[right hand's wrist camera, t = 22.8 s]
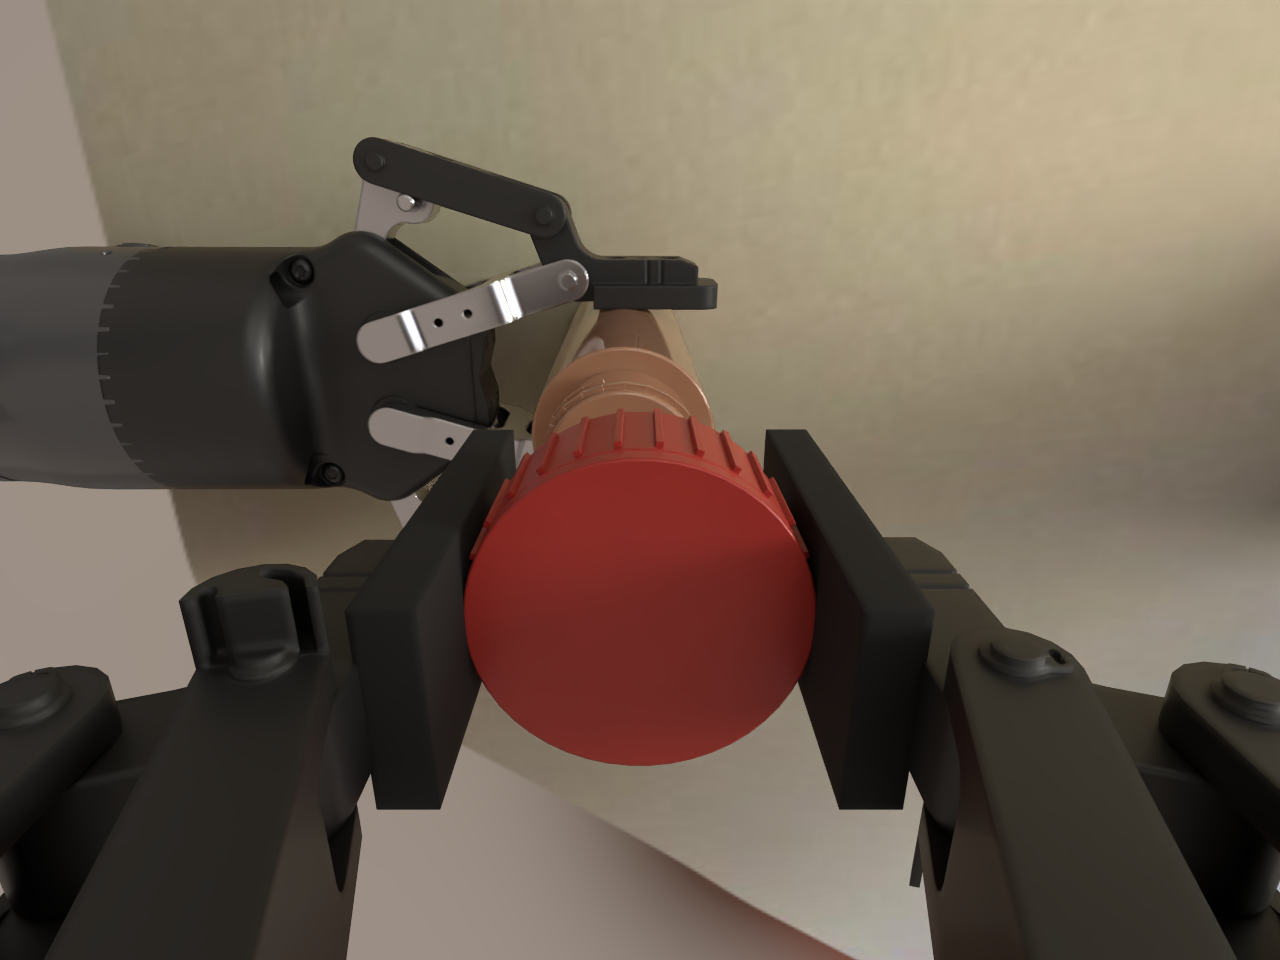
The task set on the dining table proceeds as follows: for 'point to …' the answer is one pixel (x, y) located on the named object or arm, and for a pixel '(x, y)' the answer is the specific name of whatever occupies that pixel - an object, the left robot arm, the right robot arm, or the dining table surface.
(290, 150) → the dining table surface
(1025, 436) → the dining table surface
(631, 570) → the lid
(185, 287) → the left robot arm
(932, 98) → the dining table surface
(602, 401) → the jar
